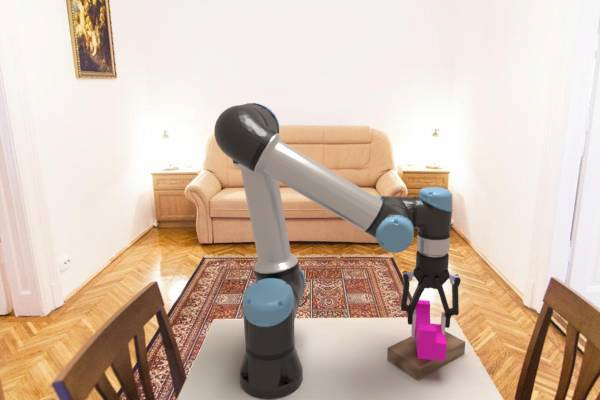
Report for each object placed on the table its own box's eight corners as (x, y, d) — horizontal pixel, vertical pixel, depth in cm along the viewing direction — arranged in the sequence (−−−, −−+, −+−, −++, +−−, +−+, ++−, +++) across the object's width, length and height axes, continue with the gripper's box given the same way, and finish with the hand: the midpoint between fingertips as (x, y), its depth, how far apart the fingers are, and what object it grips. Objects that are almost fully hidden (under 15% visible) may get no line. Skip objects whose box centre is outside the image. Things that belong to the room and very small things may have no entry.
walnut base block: (387, 361, 112) (387, 347, 111) (432, 338, 122) (433, 325, 121) (417, 382, 104) (418, 367, 103) (464, 355, 114) (465, 341, 113)
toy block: (445, 361, 102) (447, 332, 100) (417, 358, 103) (419, 330, 101) (437, 327, 116) (439, 301, 114) (413, 325, 117) (414, 299, 115)
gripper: (472, 248, 107) (465, 332, 113) (391, 244, 111) (389, 325, 117) (477, 260, 100) (470, 349, 106) (391, 254, 104) (388, 340, 110)
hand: (427, 336), depth 111 cm, fingers closed on toy block, 6 cm apart
